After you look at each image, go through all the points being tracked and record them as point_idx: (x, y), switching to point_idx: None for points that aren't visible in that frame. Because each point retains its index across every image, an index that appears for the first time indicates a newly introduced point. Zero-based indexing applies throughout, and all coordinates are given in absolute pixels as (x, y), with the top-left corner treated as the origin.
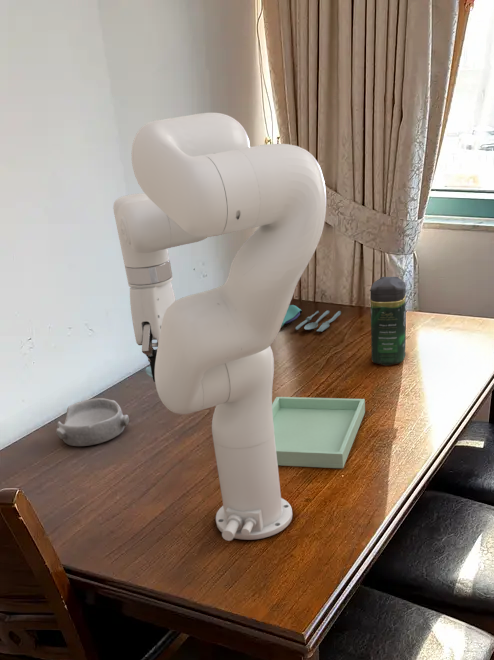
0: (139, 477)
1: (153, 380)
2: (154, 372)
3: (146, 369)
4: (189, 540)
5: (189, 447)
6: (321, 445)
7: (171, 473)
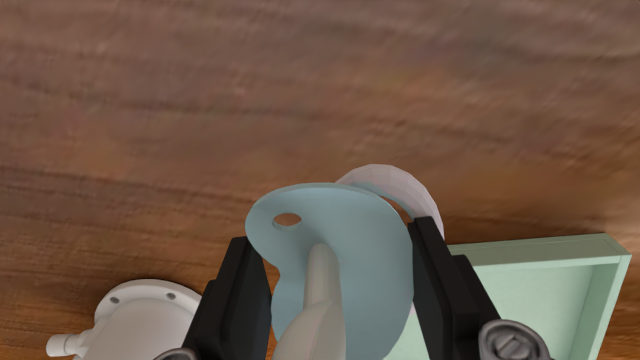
0: (207, 49)
1: (231, 240)
2: (198, 305)
3: (287, 193)
4: (60, 261)
5: (389, 104)
6: (412, 354)
7: (252, 123)
